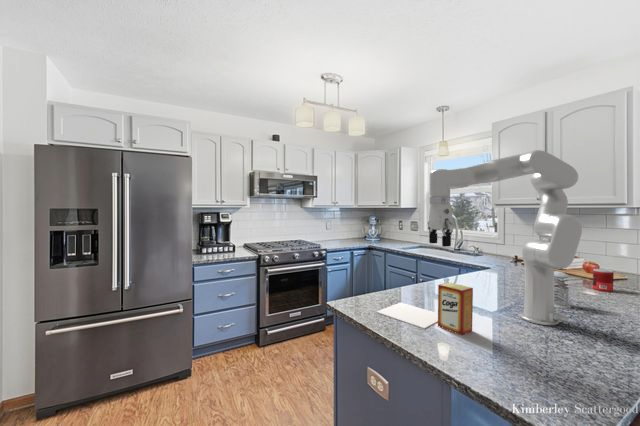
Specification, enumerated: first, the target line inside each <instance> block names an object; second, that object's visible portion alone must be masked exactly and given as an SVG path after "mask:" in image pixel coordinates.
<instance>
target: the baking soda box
mask: <svg viewBox="0 0 640 426" xmlns="http://www.w3.org/2000/svg"><path fill="white" fill-rule="evenodd" d="M437 287H438V288H437V289H438V293H437V295H438V296H437V297H438V298H437V313H438V322H437V327H439V326H440V327H439V328H441V327H443V328H442V329H444V328H445V329H444V330H447V329H448V330H447V331H449V330H451V331H450V332H452V331H453V332H452V333H455V332H456V333H455V334H457V333H458V334H457V335H460V334H461V335H460V336H464V335H466V333H467V334H469V333H471V332H472V331H473V312H474V311H473V304H474V299H473V298H474V291H473V290H474V287H471V286H467V285H462V284H458V283H453V282H449V281H447V282H445V283H440V284H438V286H437ZM468 332H469V333H468Z"/></svg>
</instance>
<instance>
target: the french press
mask: <svg viewBox="0 0 640 426" xmlns="http://www.w3.org/2000/svg"><path fill="white" fill-rule="evenodd" d="M553 271H554V276H555V278H564V279H565V278H569V277H570V275H568V273H565V272H562V271H560V270H553ZM554 308H561V309H571V308H572V306H571V304H569V287H568V283H565V282H560V281H559V279H557V280H556V281H555V288H554Z"/></svg>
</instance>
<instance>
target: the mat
mask: <svg viewBox="0 0 640 426" xmlns="http://www.w3.org/2000/svg"><path fill="white" fill-rule="evenodd" d="M375 313H377V314H380V315H381V316H385V317H388V318H392V319H395V320H397V321H400V322H403V323H405V324H408V325H412V326H413V327H417V328H419V329H422V330H423V329H424V330H425V329H427V328H430V327H431V326H433V325H435V324H437V323H438V312H435V311H431V310H429V309H424V308H421V307H418V306H414V305H411V304H408V303H403V302H398V303H396V304H395V303H394V304H393V305H390V306H388V307H384V308H382V309H379V310H377V311H375ZM436 322H437V323H436ZM434 323H435V324H434Z"/></svg>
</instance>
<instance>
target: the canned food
mask: <svg viewBox="0 0 640 426" xmlns="http://www.w3.org/2000/svg"><path fill="white" fill-rule="evenodd" d="M592 289H593V290H595V291H598V292H605V293H612V292H613V291H614V270H611V269H605V268H593V270H592Z"/></svg>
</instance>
